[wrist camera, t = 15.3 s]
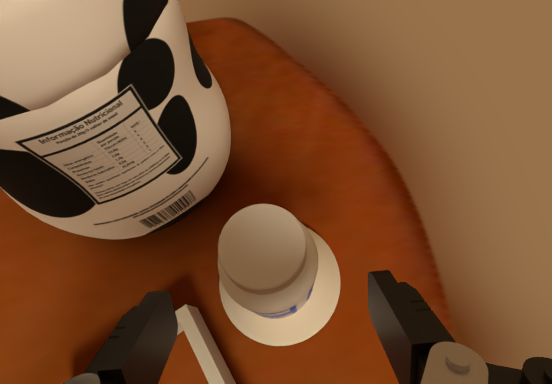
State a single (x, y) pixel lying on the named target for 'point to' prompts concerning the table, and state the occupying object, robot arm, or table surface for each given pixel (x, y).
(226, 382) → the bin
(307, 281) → the pill bottle
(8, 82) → the milk container
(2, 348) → the table surface
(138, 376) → the robot arm
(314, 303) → the coaster
